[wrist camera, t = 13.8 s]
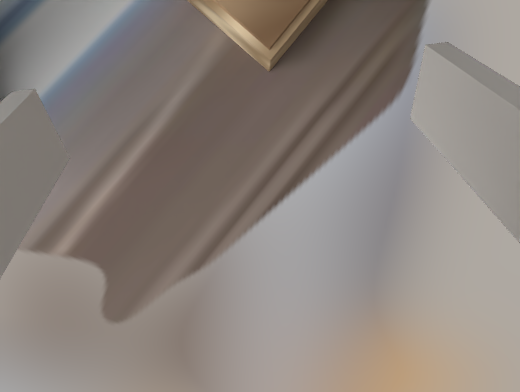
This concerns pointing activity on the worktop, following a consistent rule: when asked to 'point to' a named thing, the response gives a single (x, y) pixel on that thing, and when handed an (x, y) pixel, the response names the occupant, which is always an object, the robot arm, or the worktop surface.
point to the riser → (261, 23)
